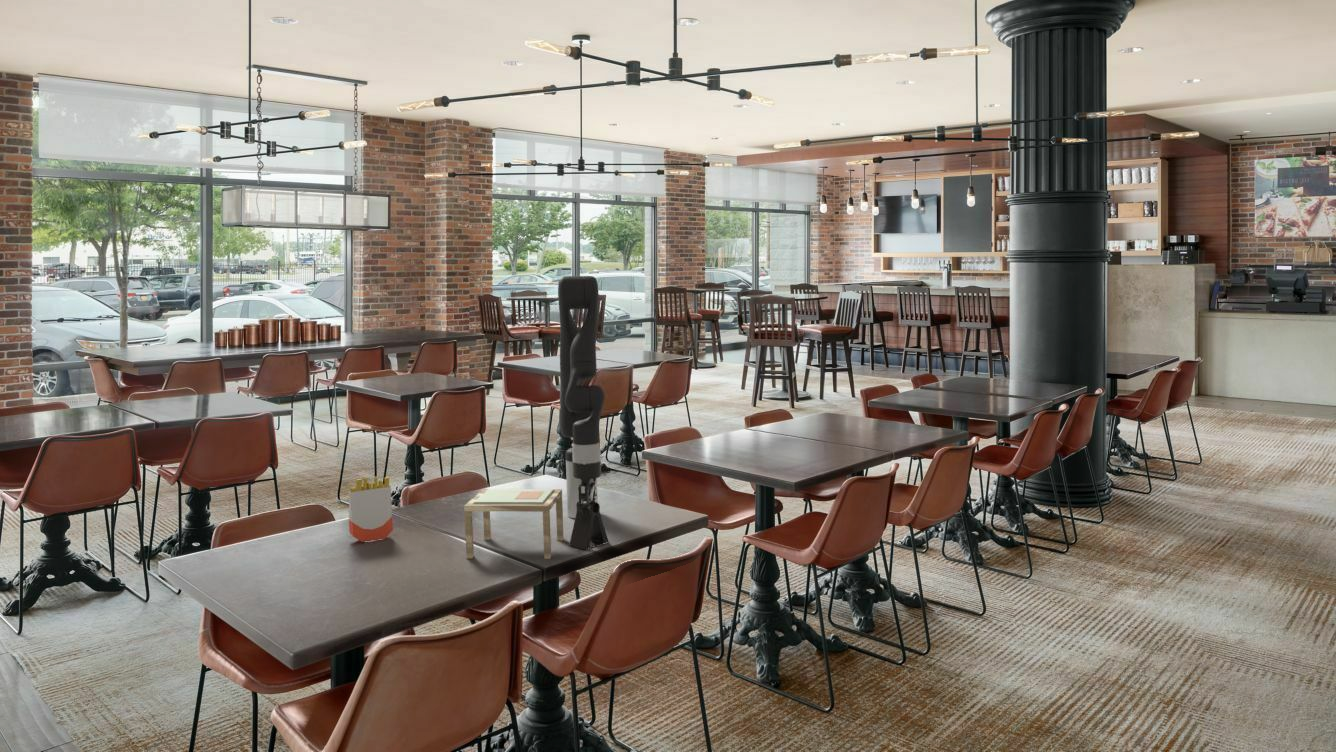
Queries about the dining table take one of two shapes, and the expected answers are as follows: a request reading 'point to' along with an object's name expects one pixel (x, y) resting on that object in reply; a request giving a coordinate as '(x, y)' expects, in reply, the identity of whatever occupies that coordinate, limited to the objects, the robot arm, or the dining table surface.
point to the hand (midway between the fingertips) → (588, 518)
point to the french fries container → (370, 510)
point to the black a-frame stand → (588, 529)
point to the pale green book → (514, 496)
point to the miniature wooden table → (486, 509)
